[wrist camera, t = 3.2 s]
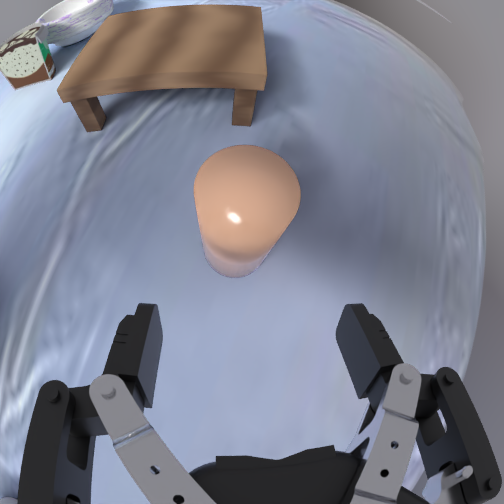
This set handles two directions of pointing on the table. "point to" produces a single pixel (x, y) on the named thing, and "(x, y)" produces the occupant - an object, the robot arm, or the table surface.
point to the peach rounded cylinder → (243, 206)
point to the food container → (27, 57)
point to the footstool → (170, 57)
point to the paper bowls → (74, 20)
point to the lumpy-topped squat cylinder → (8, 500)
